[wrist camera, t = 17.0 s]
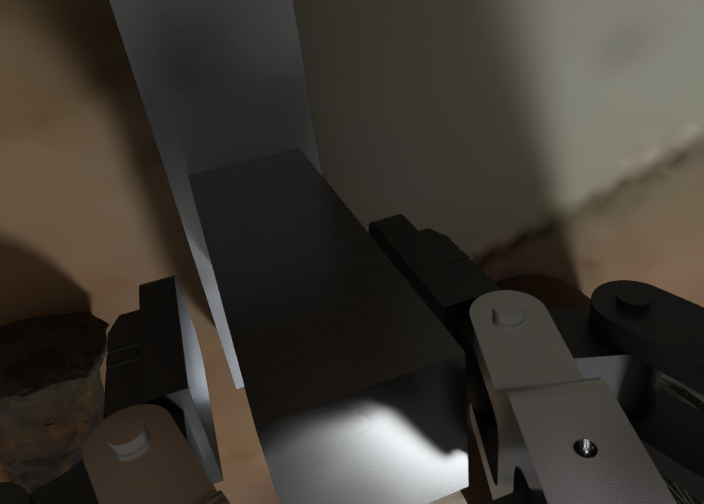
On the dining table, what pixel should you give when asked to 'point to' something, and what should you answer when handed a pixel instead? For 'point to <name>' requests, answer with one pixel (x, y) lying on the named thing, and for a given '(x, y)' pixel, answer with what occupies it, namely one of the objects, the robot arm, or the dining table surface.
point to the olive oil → (562, 297)
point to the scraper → (294, 264)
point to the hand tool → (49, 394)
